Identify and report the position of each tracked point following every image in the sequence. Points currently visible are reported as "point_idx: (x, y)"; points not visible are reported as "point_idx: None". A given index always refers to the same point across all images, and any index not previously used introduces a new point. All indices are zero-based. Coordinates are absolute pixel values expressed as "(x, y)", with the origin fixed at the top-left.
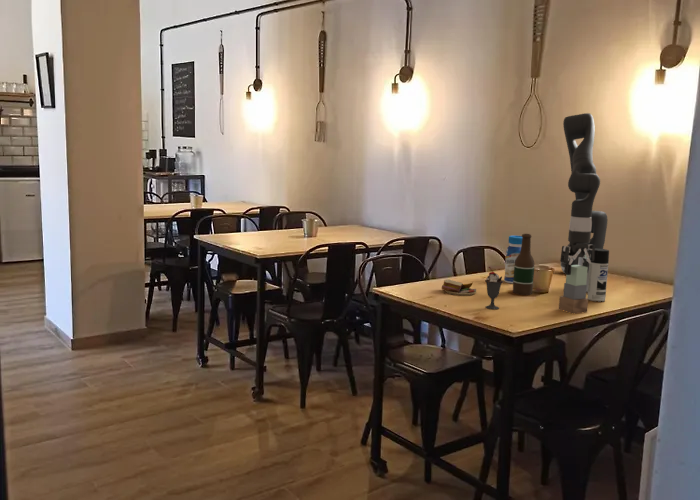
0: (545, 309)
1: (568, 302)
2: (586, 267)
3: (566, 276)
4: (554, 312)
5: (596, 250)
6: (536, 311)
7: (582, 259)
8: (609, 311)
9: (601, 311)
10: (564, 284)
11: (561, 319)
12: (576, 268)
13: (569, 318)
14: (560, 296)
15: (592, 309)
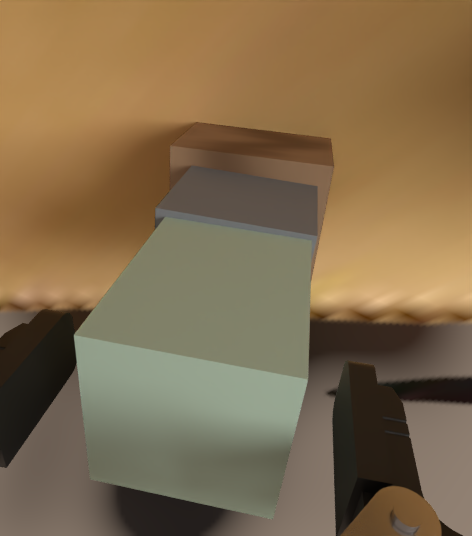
0: (102, 83)
1: None
2: (253, 511)
3: (140, 254)
4: (107, 169)
5: None
6: (10, 94)
7: (345, 532)
8: (447, 313)
9: (403, 291)
10: (160, 205)
11: (48, 279)
12: (92, 463)
13: (100, 287)
14: (170, 154)
15: (403, 237)
